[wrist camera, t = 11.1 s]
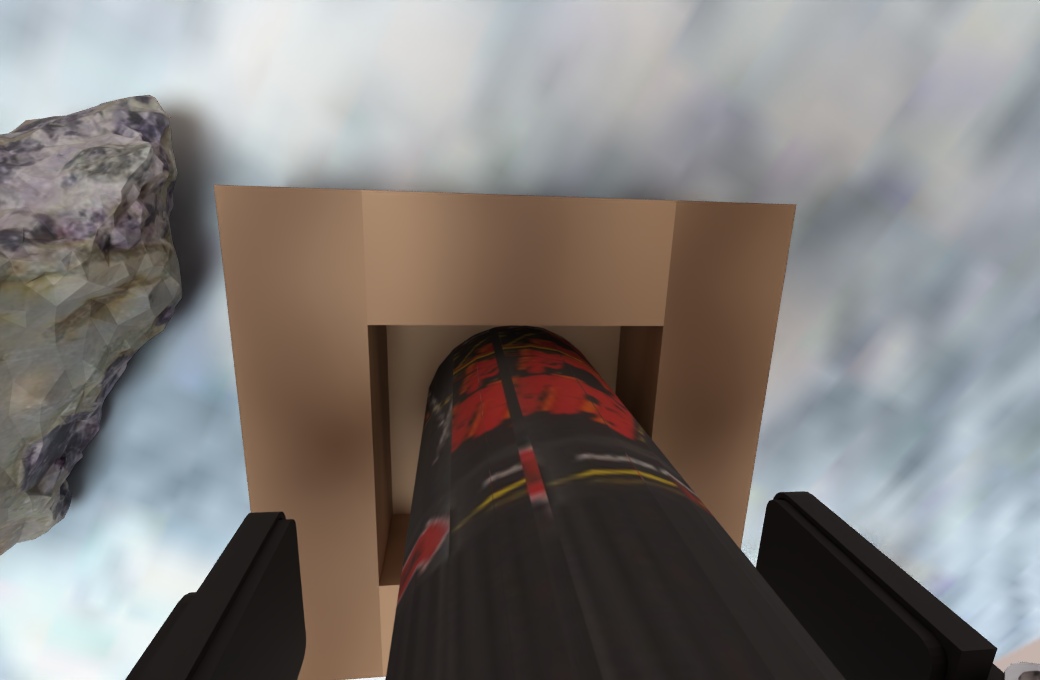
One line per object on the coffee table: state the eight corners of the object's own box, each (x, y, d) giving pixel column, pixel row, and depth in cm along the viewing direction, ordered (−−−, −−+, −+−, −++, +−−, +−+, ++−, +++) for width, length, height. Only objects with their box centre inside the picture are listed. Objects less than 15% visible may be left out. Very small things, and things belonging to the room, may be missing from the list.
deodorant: (634, 411, 18) (1289, 1196, 4) (507, 519, 19) (673, 1564, 4) (522, 286, 17) (928, 840, 2) (387, 408, 17) (35, 1475, 3)
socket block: (706, 203, 18) (796, 204, 13) (665, 551, 22) (724, 650, 17) (283, 188, 17) (213, 184, 12) (314, 569, 20) (270, 684, 15)
